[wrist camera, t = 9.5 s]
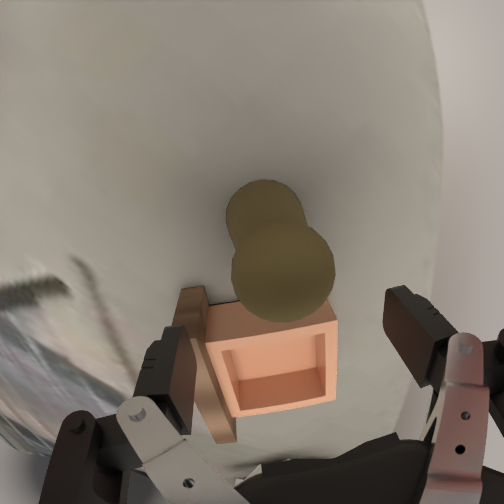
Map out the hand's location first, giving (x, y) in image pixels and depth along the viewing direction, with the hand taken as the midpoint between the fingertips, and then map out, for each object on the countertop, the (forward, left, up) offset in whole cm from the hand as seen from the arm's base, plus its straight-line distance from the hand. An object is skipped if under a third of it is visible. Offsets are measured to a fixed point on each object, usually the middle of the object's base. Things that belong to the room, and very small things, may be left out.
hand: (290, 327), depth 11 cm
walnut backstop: (+12, -7, -13) cm, 19 cm away
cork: (0, 0, -14) cm, 14 cm away
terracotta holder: (+12, -1, -13) cm, 18 cm away
